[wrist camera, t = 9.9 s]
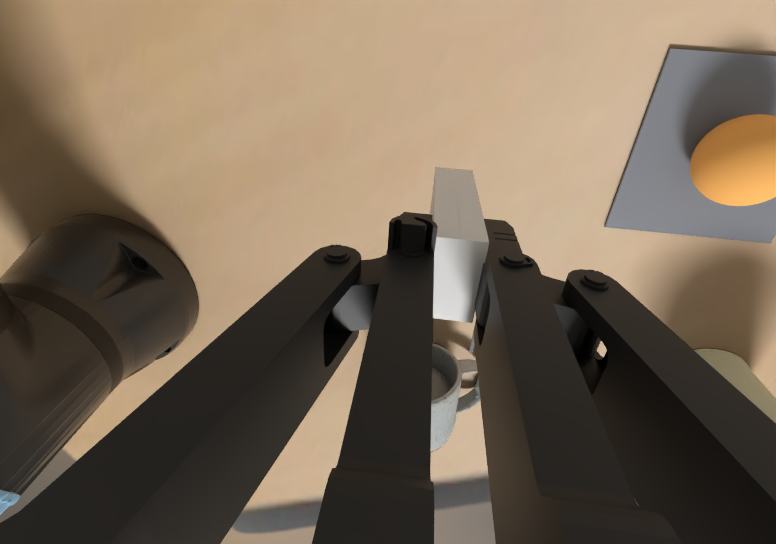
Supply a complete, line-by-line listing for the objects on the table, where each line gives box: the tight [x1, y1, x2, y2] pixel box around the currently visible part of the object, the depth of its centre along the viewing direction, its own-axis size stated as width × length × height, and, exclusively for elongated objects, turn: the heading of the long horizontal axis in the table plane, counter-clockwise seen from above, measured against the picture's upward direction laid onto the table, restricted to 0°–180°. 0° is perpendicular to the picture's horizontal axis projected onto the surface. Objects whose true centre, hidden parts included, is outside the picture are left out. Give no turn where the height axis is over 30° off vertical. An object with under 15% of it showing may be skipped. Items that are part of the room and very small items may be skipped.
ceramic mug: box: [430, 344, 481, 453], centre depth 38 cm, size 11×8×8 cm
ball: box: [690, 114, 776, 206], centre depth 25 cm, size 6×6×6 cm
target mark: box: [605, 48, 776, 243], centre depth 28 cm, size 12×12×1 cm
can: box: [694, 349, 776, 423], centre depth 33 cm, size 9×9×12 cm
